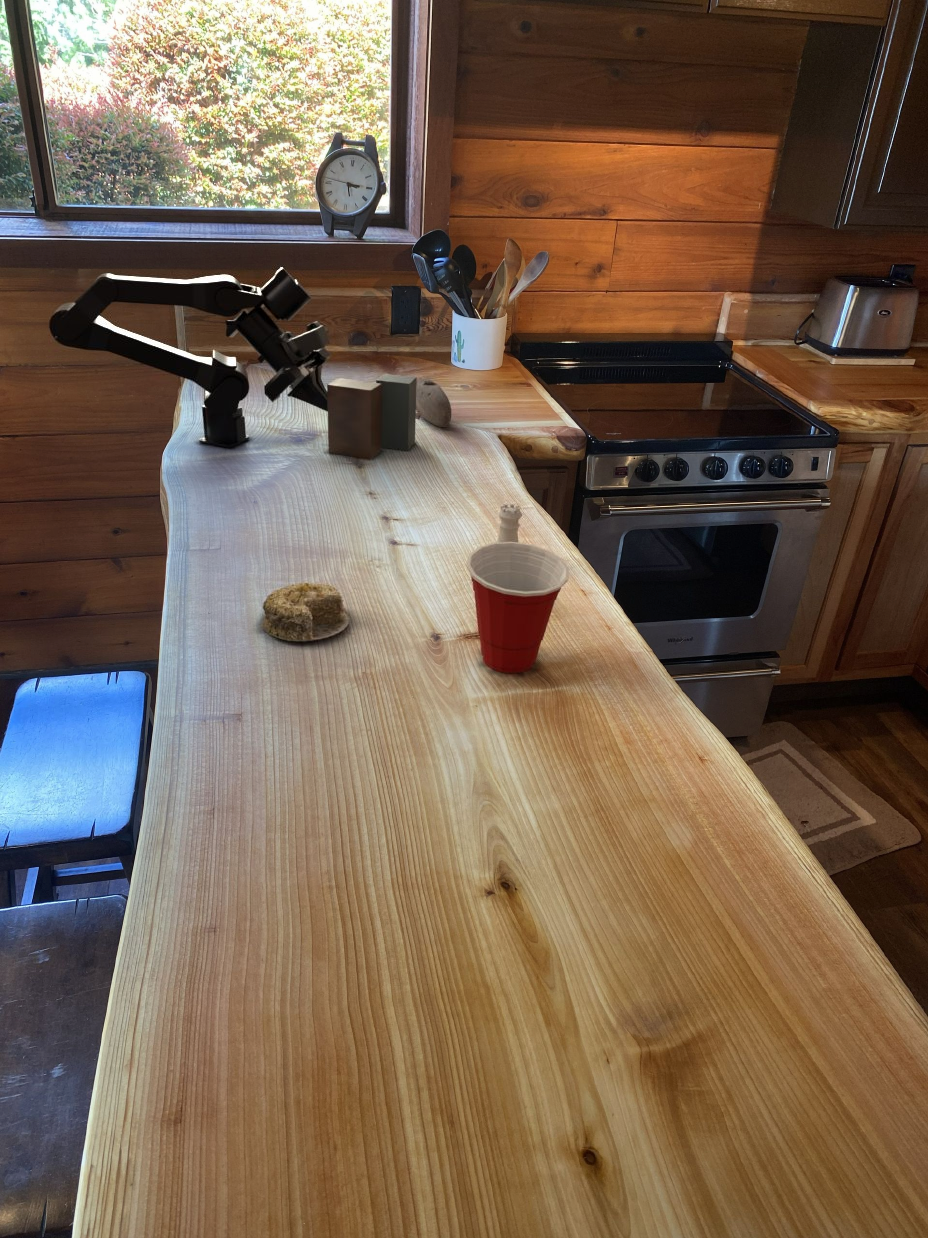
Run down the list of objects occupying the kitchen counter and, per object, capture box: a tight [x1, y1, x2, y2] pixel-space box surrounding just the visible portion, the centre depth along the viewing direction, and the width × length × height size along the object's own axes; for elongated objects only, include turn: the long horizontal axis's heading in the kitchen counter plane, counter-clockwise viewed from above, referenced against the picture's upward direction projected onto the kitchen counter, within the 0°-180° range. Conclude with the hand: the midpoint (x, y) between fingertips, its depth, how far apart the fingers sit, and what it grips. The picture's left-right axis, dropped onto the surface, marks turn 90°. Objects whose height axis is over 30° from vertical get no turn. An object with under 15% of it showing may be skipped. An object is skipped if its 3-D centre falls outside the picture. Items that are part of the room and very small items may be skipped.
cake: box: [261, 582, 350, 642], centre depth 103 cm, size 10×10×5 cm
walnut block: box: [326, 377, 382, 460], centre depth 156 cm, size 8×5×12 cm, turn 73°
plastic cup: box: [466, 541, 570, 674], centre depth 96 cm, size 11×11×12 cm
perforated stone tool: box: [416, 378, 452, 428], centre depth 176 cm, size 15×5×7 cm, turn 20°
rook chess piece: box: [496, 503, 523, 543], centre depth 120 cm, size 4×4×8 cm
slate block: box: [375, 373, 418, 452], centre depth 161 cm, size 6×5×12 cm
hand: (332, 410), depth 157 cm, fingers closed, pressing on walnut block
